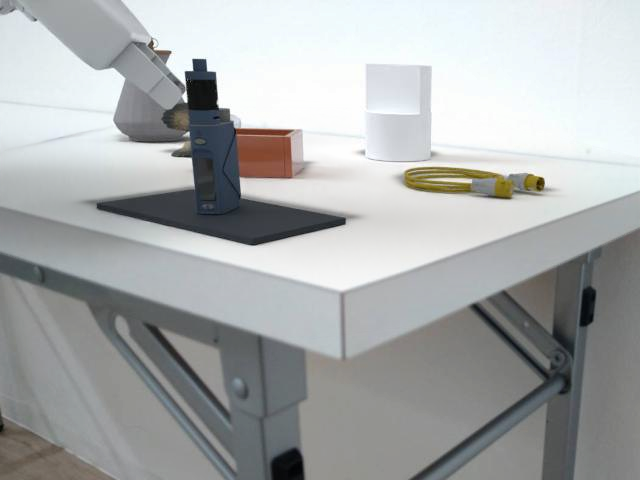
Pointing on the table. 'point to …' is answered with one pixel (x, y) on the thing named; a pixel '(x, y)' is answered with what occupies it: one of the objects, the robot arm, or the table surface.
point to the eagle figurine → (185, 124)
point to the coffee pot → (144, 111)
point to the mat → (224, 217)
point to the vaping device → (211, 144)
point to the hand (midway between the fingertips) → (179, 99)
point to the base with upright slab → (398, 112)
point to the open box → (269, 152)
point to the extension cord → (474, 181)
